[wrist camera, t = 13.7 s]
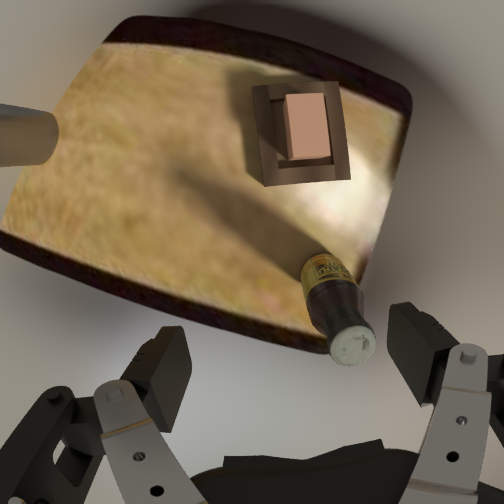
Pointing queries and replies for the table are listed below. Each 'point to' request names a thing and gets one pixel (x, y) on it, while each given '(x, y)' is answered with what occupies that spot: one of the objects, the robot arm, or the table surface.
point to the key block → (306, 126)
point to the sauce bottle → (337, 309)
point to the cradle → (274, 137)
